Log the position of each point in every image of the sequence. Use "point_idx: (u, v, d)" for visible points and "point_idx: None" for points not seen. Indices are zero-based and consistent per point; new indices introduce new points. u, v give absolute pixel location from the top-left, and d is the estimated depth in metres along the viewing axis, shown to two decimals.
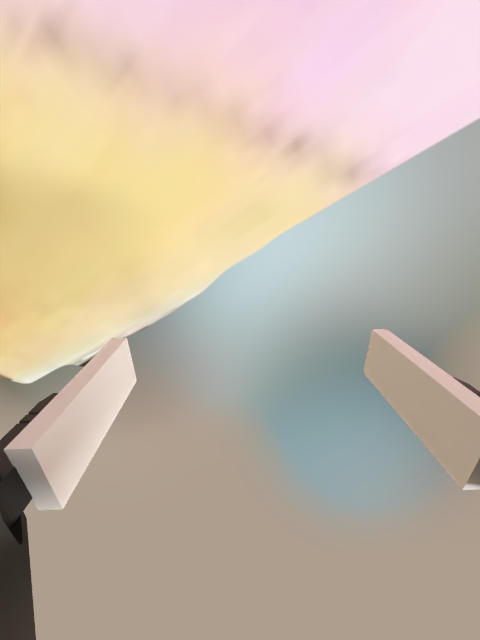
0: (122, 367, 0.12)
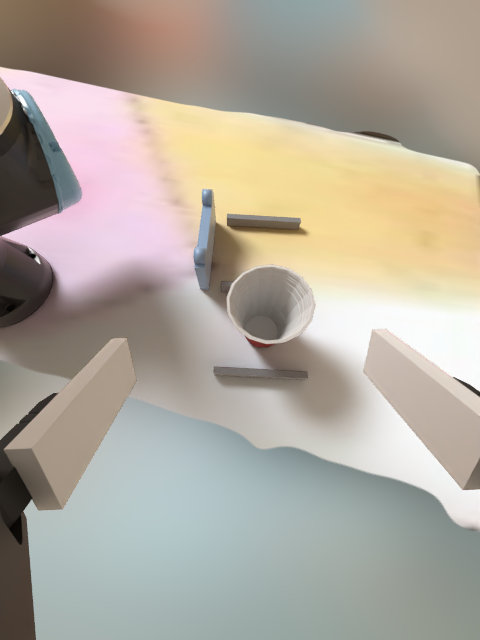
0: (122, 367, 0.12)
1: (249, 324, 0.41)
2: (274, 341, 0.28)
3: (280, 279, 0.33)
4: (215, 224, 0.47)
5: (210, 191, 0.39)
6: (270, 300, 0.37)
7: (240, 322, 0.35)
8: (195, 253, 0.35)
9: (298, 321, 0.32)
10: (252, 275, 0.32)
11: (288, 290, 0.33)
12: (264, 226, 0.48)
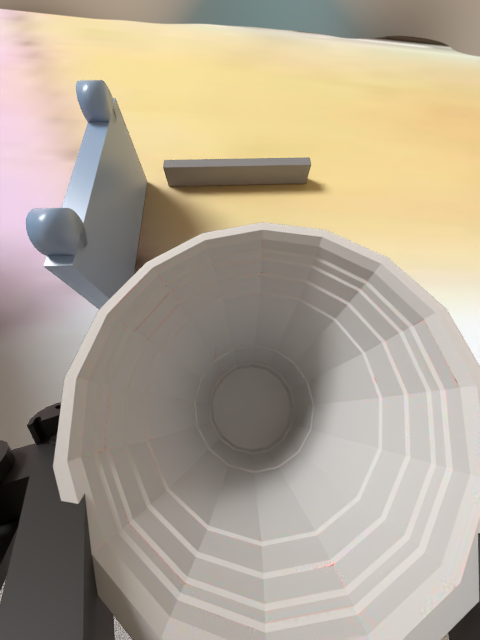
0: None
1: (221, 393, 0.17)
2: None
3: (292, 277, 0.09)
4: (145, 185, 0.24)
5: (97, 82, 0.16)
6: (265, 337, 0.14)
7: (179, 421, 0.11)
8: (31, 223, 0.12)
9: (380, 429, 0.08)
10: (190, 270, 0.09)
11: (322, 311, 0.10)
12: (240, 182, 0.25)
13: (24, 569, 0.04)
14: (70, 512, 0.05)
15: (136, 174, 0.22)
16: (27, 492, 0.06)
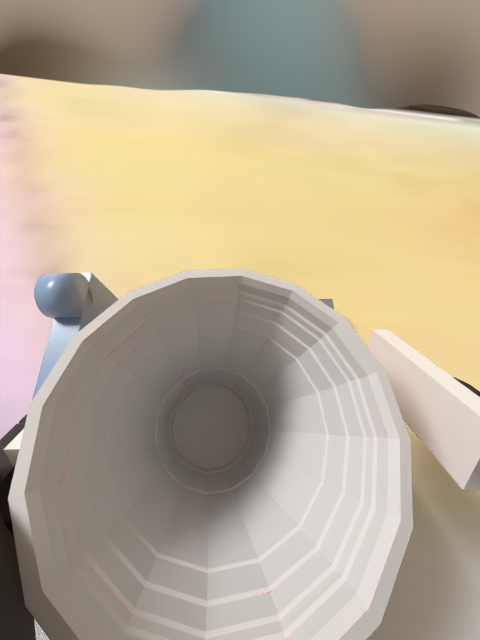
0: None
1: (182, 410, 0.17)
2: None
3: (263, 318, 0.10)
4: None
5: (62, 283, 0.12)
6: (233, 362, 0.14)
7: (138, 442, 0.11)
8: None
9: (324, 464, 0.09)
10: (169, 302, 0.09)
11: (286, 349, 0.11)
12: None
13: None
14: None
15: None
16: None
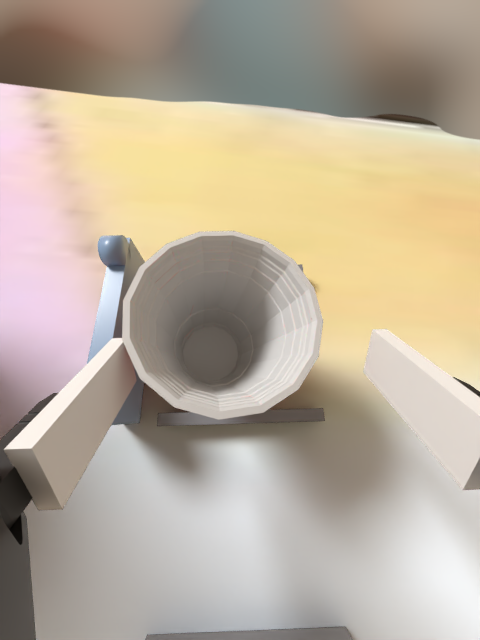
0: (122, 367, 0.12)
1: (189, 343, 0.24)
2: (237, 411, 0.11)
3: (247, 264, 0.16)
4: None
5: (115, 240, 0.19)
6: (226, 303, 0.21)
7: (167, 347, 0.17)
8: None
9: (282, 349, 0.16)
10: (189, 251, 0.15)
11: (262, 286, 0.17)
12: None
13: None
14: None
15: None
16: None
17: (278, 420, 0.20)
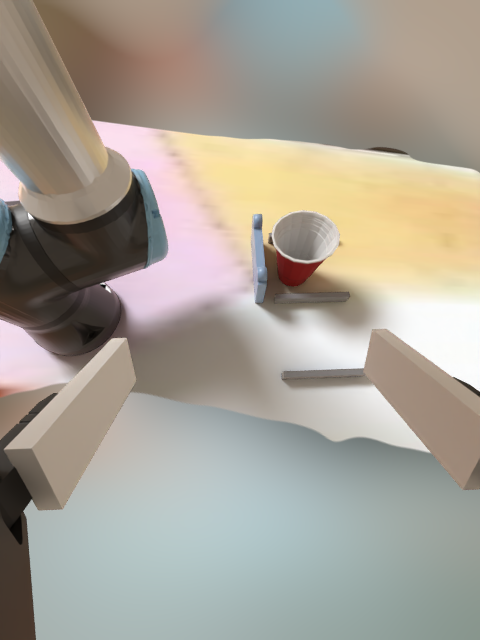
0: (122, 367, 0.12)
1: None
2: (313, 260, 0.37)
3: (308, 223, 0.42)
4: None
5: (261, 216, 0.44)
6: (299, 245, 0.47)
7: None
8: (259, 272, 0.40)
9: (326, 252, 0.41)
10: (287, 220, 0.41)
11: (315, 231, 0.43)
12: None
13: None
14: None
15: None
16: None
17: (329, 296, 0.46)
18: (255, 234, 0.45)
